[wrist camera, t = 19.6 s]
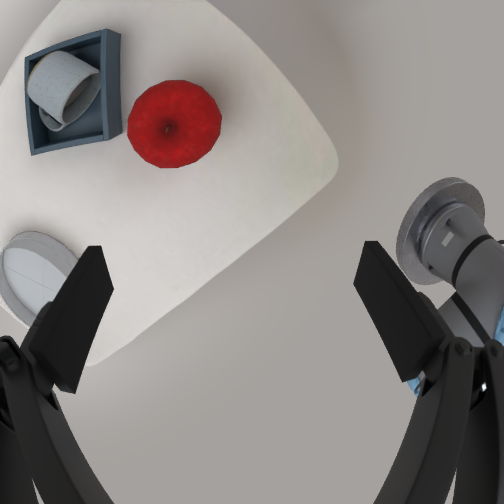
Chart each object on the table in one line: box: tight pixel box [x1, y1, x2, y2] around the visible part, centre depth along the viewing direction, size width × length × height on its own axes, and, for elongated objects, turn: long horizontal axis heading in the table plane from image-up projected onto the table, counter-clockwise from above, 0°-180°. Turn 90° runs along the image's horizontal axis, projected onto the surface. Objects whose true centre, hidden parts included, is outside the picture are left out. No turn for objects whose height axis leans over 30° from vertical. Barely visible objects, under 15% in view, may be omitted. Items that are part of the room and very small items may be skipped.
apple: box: [127, 80, 222, 168], centre depth 27 cm, size 10×10×11 cm
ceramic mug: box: [27, 51, 100, 131], centre depth 23 cm, size 11×8×8 cm
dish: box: [0, 232, 78, 327], centre depth 41 cm, size 22×22×5 cm
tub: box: [25, 29, 122, 156], centre depth 25 cm, size 13×14×5 cm
